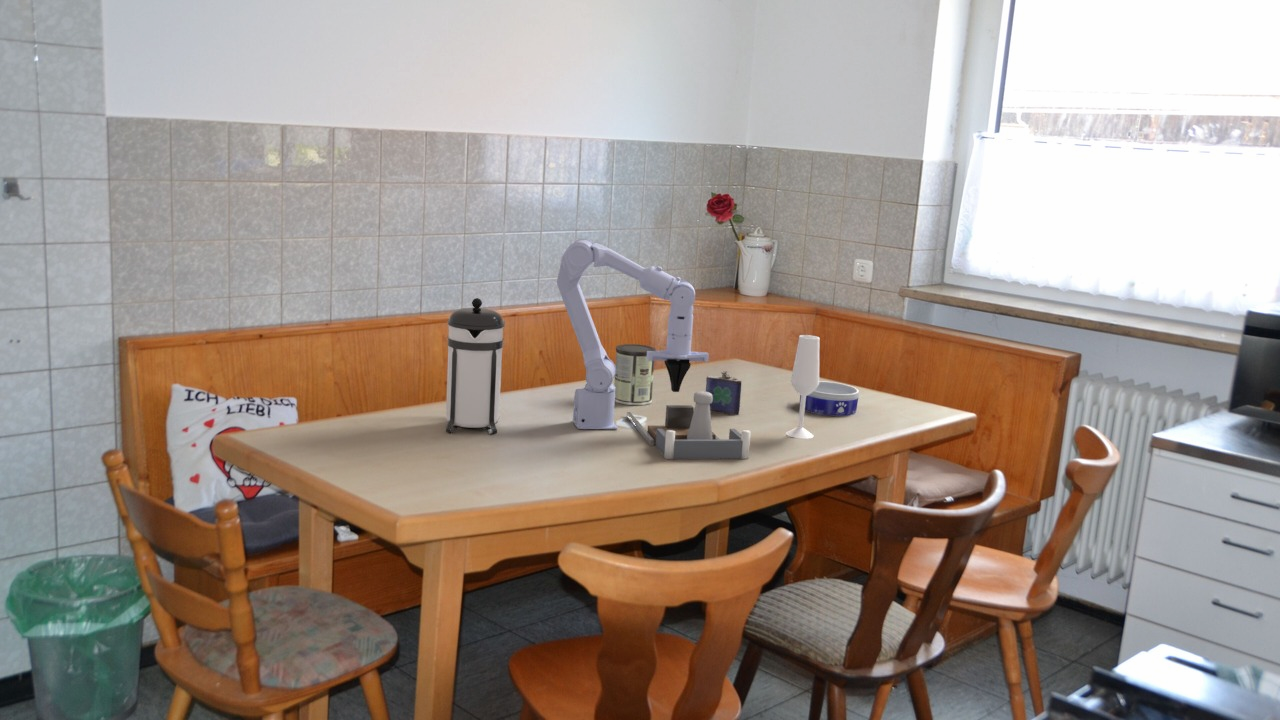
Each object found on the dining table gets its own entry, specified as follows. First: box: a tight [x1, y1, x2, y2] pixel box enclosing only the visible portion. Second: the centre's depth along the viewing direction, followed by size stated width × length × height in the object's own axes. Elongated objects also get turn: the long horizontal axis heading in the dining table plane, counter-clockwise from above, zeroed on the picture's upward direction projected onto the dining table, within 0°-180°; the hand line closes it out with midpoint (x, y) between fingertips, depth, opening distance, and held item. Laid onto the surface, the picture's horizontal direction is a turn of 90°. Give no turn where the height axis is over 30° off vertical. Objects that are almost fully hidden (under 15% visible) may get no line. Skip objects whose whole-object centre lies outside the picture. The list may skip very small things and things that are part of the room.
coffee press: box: [445, 297, 506, 436], centre depth 249 cm, size 17×16×30 cm
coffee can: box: [613, 343, 657, 406], centre depth 285 cm, size 10×10×14 cm
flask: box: [705, 370, 742, 416], centre depth 280 cm, size 9×3×11 cm, turn 71°
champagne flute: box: [785, 334, 821, 440], centre depth 262 cm, size 7×7×24 cm
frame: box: [655, 428, 751, 460], centre depth 244 cm, size 19×10×6 cm, turn 104°
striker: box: [646, 404, 717, 444], centre depth 252 cm, size 14×8×7 cm, turn 104°
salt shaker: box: [687, 390, 713, 439], centre depth 246 cm, size 6×6×13 cm
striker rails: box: [626, 411, 720, 446], centre depth 260 cm, size 16×24×1 cm
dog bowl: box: [799, 380, 860, 417], centre depth 292 cm, size 15×15×6 cm
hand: (675, 391), depth 258 cm, fingers closed
